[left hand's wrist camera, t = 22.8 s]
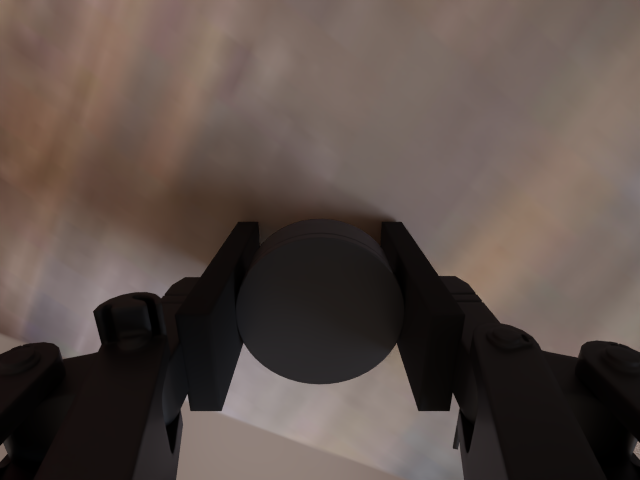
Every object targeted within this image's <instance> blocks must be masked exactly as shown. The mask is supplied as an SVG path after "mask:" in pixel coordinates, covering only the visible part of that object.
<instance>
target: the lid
mask: <svg viewBox="0 0 640 480" xmlns="http://www.w3.org/2000/svg"><path fill="white" fill-rule="evenodd" d="M235 309H236V321H237V327H238V330H239V334H240V336H241V338H242V340H243V342H244V344H245V346H246V347H247V349H248V350H249V351H250V353H251V354H252V355H253V356H254V357H255V358H256V359H257V360H258V361H259V362H260V363H261V364H262V365H264V366H265V367H266V368H268V369H269V370H271V371H273V372H274V373H276V374H278V375H280V376H283V377H285V378H287V379H290V380H294V381H297V382H303V383H308V384H331V383H338V382H343V381H347V380H350V379H353V378H355V377H358V376H360V375H362V374H364V373H366V372H368V371H369V370H371V369H373V368H374V367H376V366H377V365H378V364H379V363H380V362H382V361H383V360H384V359H385V358H386V357H387V355H388V354H389V353H390V352H391V351H392V349H393V348H394V346H395V345H396V343H397V341H398V339H399V337H400V334H401V332H402V329H403V322H404V311H405V302H404V296H403V292H402V289H401V287H400V284H399V282H398V280H397V277H396V275H395V273H394V271H393V268H392V266H391V264H390V262H389V259H388V257H387V255H386V254H385V252H384V251H383V249H382V248H381V247H380V245H379V244H378V243H377V242H376V241H375V240H374V239H373V238H372V237H371V236H369V235H368V234H367V233H365V232H364V231H362V230H361V229H359V228H357V227H355V226H353V225H350V224H347V223H344V222H341V221H336V220H329V219H310V220H305V221H300V222H296V223H293V224H290V225H288V226H286V227H284V228H282V229H280V230H278V231H277V232H275V233H274V234H272V235H271V236H270V237H269V238H268V239H266V240H265V241H264V242H263V244H262V245H261V246H260V247H259V248H258V250H257V251H256V253H255V254H254V256H253V258H252V260H251V262H250V264H249V267H248V269H247V271H246V274H245V276H244V278H243V280H242V283H241V285H240V288H239V291H238V294H237V298H236V305H235Z"/></svg>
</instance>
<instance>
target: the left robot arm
mask: <svg viewBox="0 0 640 480" xmlns="http://www.w3.org/2000/svg"><path fill="white" fill-rule="evenodd" d="M259 247H260V245H259V229H258V222H238V223H237V225H236V226H235V228H234V229H233V231H232V232H231V234H230V235H229V237H228V238H227V239H226V241H225V242H224V244H223V245H222V247H221V248H220V250H219V251H218V253H217V254H216V255H215V257H214V258H213V260H212V261H211V263H210V264H209V266H208V267H207V268H206V270H205V271H204V273H203V274H202V276H201V277H185V278H183V279H181V280H180V281H178V282H176V283H175V284H173V285H172V286H171V287H170V288H169V290H168V291H167V292H166V293H165V296H163V297H162V298H160V297H159V296H157V295H156V294H153V293H148V292H135V293H129V294H124V295H120V296H117V297H115V298H112V299H109V300H107V301H106V302H104V303H102V304H100V305H99V306H98V307H97V308H96V309H95V310H94V311H93V313H94V317H95V320H96V324H97V328H98V332H99V336H100V340H101V344H102V345H101V347H100V349H99V351H98V352H96V353H92V354H88V355H82V356H77V357H72V358H67V359H62V356H61V353H60V349H59V347H57V346H56V345H55V344H53V343H46V342H41V343H30V344H25V345H23V346H18V347H15V348H12V349H11V350H9V351H7V352H4V353H2V354H0V445H1V444H2V443H3V444H4V446H5V448H6V451H7V453H8V454H7V455H6V456H5V457H4V459H3V460H2V461H1V462H0V480H176V475H177V468H178V460H179V452H180V444H181V436H182V428H183V421H182V415H181V407H182V404H183V402H184V400H185V398H186V396H187V394H188V399H189V405H190V410H191V411H222V408H223V405H224V402H225V399H226V395H227V392H228V389H229V386H230V383H231V380H232V377H233V374H234V371H235V367H236V364H237V361H238V358H239V355H240V352H241V349H242V346H243V340H242V338H241V336H240V334H239V330H238V327H237V321H236V309H235V305H236V298H237V294H238V291H239V288H240V285H241V283H242V280H243V278H244V276H245V274H246V271H247V269H248V267H249V264H250V262H251V260H252V258H253V256H254V254H255V253H256V251H257V250H258V248H259ZM380 247H381V248H382V249H383V251H384V252H385V254H386V255H387V257H388V259H389V262H390V264H391V266H392V268H393V271H394V273H395V275H396V277H397V280H398V282H399V284H400V287H401V289H402V292H403V296H404V302H405V311H404V322H403V329H402V332H401V334H400V337H399V339H398V341H397V345H398V348H399V352H400V355H401V358H402V361H403V364H404V367H405V370H406V373H407V377H408V380H409V383H410V386H411V389H412V392H413V395H414V398H415V401H416V405H417V408H418V411H450V405H451V399H452V393H453V394H454V396H455V398H456V400H457V403H458V405H459V407H460V409H459V415H458V420H457V426H456V432H455V437H454V444H453V449H458V445H459V443H460V451H461V459H462V467H463V474H464V480H640V460H639V458H638V457H637V456H636V455H635V454H634V453H633V451H634V449H635V446H636V444H637V441H639V442H640V352H638V351H636V350H633V349H631V348H629V347H628V346H625V345H622V344H618V343H614V342H606V341H590V342H586V343H585V344H584V345H582V346H581V350H580V353H579V356H578V358H577V357H571V356H566V355H561V354H556V353H551V352H546V351H542V350H541V348H540V346H539V344H538V343H537V342H536V341H535V339H534V338H533V337H532V336H530V335H529V334H527V333H526V332H524V331H523V330H520V329H518V328H516V327H513V326H510V325H506V324H501V323H500V322H499V321H498V320H497V318H496V317H495V316H494V315H493V314H492V312H491V311H490V310H489V309H488V307H487V306H486V305H485V304H484V303H483V302H482V300H481V299H480V298H479V297H478V295H476V294H475V292H474V290H473V289H472V288H471V287H470V286H469V284H468V283H466V282H464V281H462V280H461V279H459V278H457V277H456V276H438V274H437V273H436V271H435V270H434V268H433V267H432V265H431V264H430V263H429V261H428V260H427V258H426V257H425V255H424V254H423V252H422V251H421V249H420V248H419V247H418V245H417V244H416V242H415V241H414V239H413V238H412V236H411V235H410V234H409V232H408V231H407V229H406V228H405V226H404V225H403V223H402V222H382V230H381V246H380Z"/></svg>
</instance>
